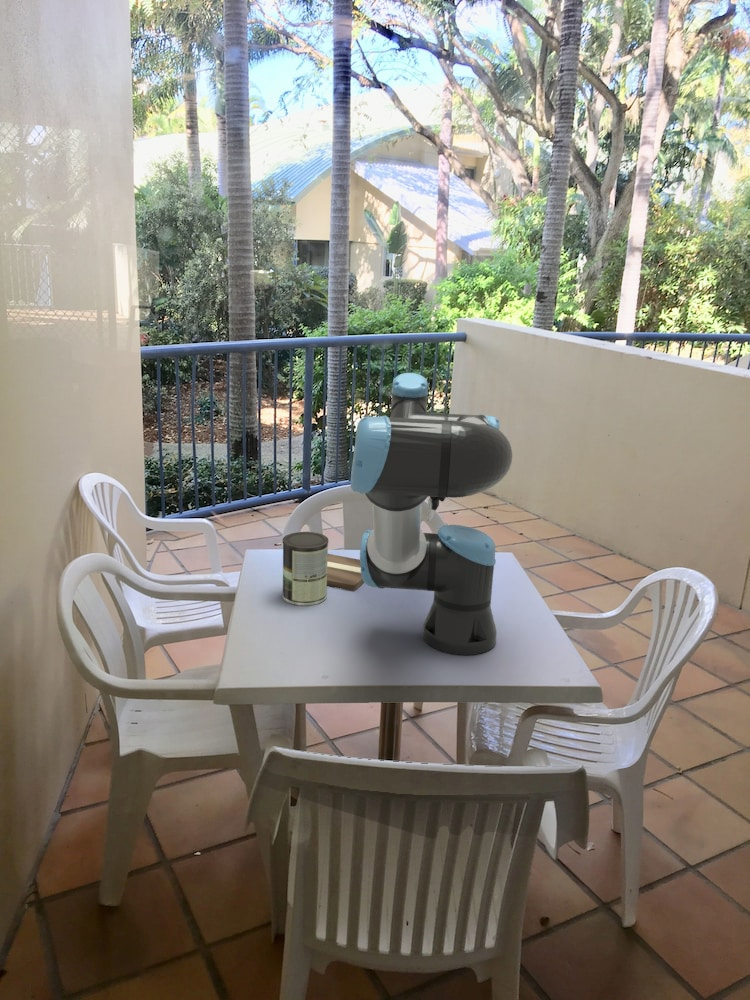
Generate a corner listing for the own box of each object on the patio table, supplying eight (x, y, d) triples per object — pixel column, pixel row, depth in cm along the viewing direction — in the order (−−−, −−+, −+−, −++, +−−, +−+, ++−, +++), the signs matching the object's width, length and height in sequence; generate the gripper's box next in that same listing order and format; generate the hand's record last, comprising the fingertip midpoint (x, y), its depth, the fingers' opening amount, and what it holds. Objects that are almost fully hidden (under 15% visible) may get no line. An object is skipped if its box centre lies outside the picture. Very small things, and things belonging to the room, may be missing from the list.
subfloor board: (354, 591, 175) (354, 585, 175) (286, 577, 181) (286, 571, 181) (379, 568, 189) (379, 563, 189) (316, 556, 196) (316, 551, 195)
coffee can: (273, 598, 169) (273, 540, 165) (299, 584, 178) (300, 528, 174) (310, 610, 164) (311, 550, 160) (335, 594, 173) (337, 537, 169)
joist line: (366, 574, 181) (366, 573, 181) (301, 561, 188) (301, 561, 188) (371, 570, 184) (371, 569, 184) (306, 558, 190) (306, 557, 190)
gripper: (466, 444, 163) (458, 515, 177) (364, 415, 171) (365, 484, 185) (454, 463, 158) (446, 534, 172) (349, 432, 166) (351, 503, 180)
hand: (404, 509), depth 179 cm, fingers open, 13 cm apart
